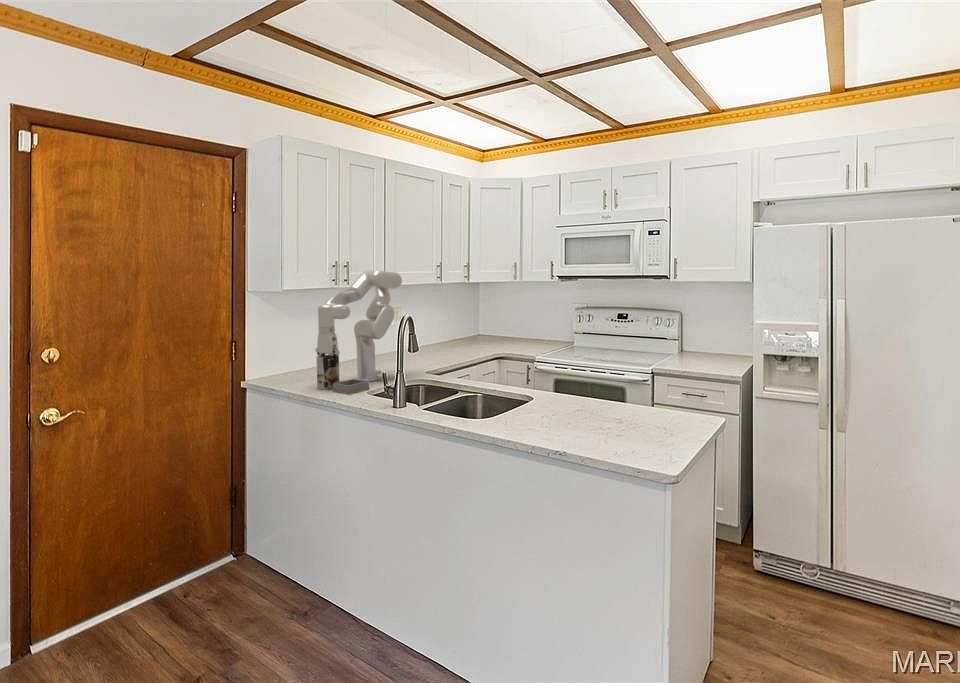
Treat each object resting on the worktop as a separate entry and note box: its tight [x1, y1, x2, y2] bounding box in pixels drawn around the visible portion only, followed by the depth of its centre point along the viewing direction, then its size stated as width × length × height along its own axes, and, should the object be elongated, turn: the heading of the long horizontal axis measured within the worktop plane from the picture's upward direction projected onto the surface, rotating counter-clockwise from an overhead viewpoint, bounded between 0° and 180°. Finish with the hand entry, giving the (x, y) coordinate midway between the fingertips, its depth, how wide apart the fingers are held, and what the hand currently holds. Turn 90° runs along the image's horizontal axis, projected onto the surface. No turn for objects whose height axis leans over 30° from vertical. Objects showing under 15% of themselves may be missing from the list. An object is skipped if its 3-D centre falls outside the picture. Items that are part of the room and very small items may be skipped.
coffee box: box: [316, 354, 340, 391], centre depth 278 cm, size 9×6×16 cm
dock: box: [332, 378, 371, 395], centre depth 273 cm, size 14×11×4 cm
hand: (327, 366), depth 278 cm, fingers closed on coffee box, 6 cm apart
